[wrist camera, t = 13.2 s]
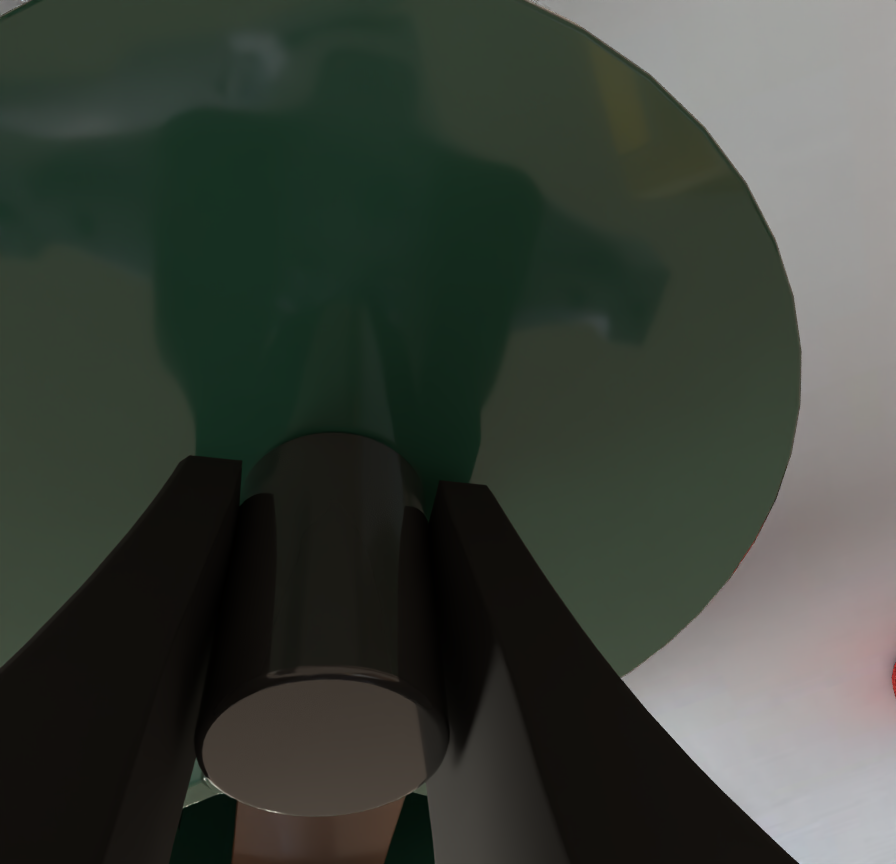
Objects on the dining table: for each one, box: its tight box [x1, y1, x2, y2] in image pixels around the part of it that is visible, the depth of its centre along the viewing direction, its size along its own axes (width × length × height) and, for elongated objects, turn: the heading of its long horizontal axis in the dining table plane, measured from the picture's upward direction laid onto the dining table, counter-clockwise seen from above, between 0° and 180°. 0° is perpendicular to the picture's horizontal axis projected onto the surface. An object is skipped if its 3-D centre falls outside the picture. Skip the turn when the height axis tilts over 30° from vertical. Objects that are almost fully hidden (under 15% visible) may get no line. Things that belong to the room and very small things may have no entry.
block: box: [231, 796, 406, 864], centre depth 23 cm, size 4×4×4 cm
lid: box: [0, 0, 801, 817], centre depth 9 cm, size 12×12×5 cm
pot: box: [169, 758, 435, 864], centre depth 22 cm, size 11×12×6 cm
